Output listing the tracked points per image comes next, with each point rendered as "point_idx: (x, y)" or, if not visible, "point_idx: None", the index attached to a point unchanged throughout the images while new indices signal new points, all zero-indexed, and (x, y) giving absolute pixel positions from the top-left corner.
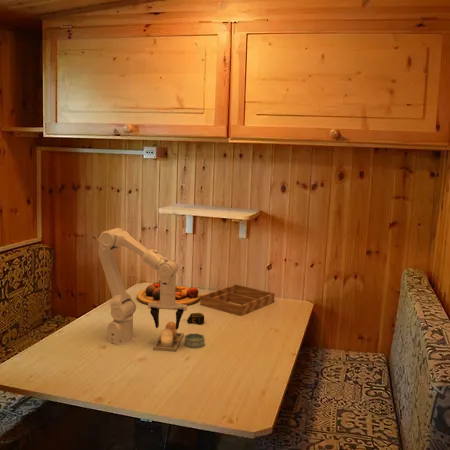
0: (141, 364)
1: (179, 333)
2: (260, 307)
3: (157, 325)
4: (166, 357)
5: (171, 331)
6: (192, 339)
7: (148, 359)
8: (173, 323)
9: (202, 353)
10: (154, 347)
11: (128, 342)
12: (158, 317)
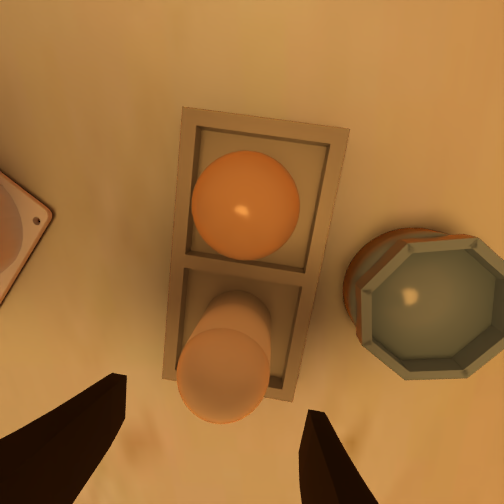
0: (147, 488)
1: (316, 138)
2: None
3: (109, 441)
4: (247, 431)
5: (258, 400)
6: (412, 305)
7: (166, 447)
8: (267, 229)
9: (441, 392)
10: (171, 379)
11: (14, 272)
12: (52, 446)
